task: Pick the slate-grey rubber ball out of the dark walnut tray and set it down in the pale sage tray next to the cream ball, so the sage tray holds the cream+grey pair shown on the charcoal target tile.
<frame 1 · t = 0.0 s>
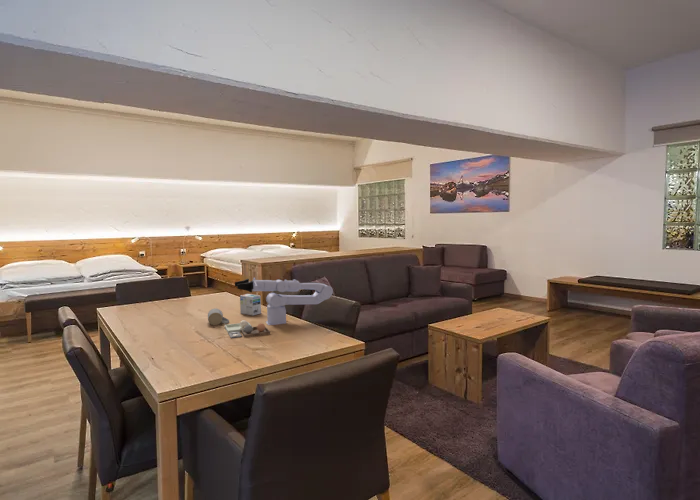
hand: (236, 285, 207), 22 cm above the table, tool horizontal, fingers open, 7 cm apart
target tile: (235, 336, 194), on the table
ceramic mug: (218, 324, 216), on the table
light bulb box: (250, 313, 239), on the table
grey ball: (248, 333, 197), resting on walnut tray
cream ball: (243, 328, 206), resting on sage tray
terracotta ball: (261, 331, 200), resting on walnut tray
walnut tray: (254, 333, 198), on the table
sage tray: (238, 329, 205), on the table
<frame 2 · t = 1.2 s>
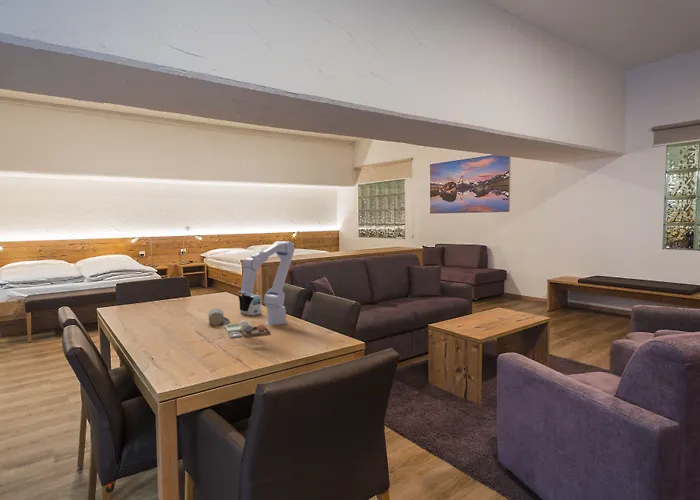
hand: (243, 310, 197), 11 cm above the table, tool tilted 15°, fingers open, 7 cm apart
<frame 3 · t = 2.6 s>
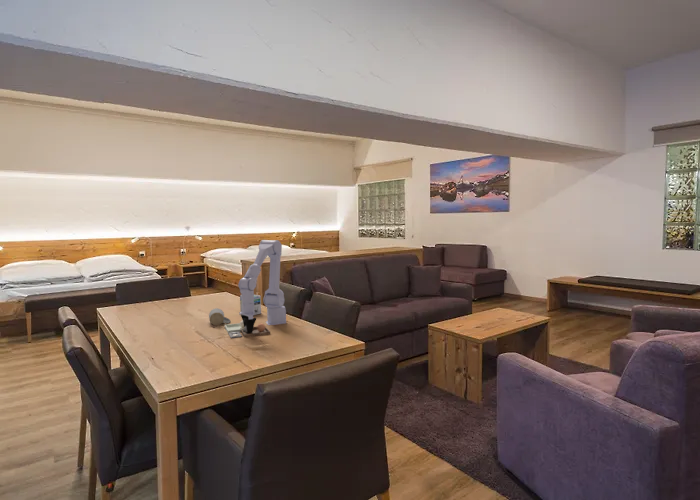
hand: (248, 330, 197), 2 cm above the table, tool pointing down, fingers open, 7 cm apart
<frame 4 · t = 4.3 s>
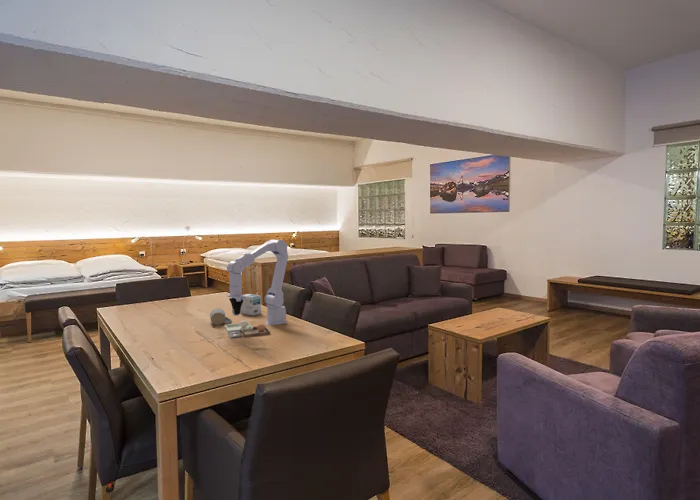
hand: (236, 313, 202), 9 cm above the table, tool pointing down, fingers closed on grey ball, 4 cm apart
grey ball: (236, 315, 202), point 8 cm above the table, touching gripper
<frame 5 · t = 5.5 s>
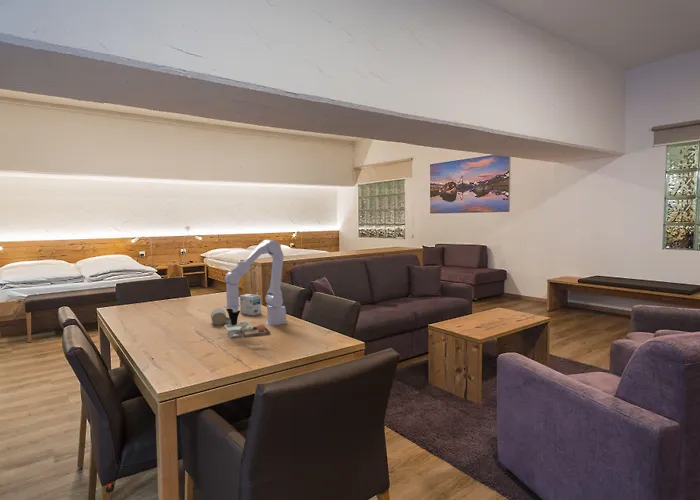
hand: (233, 323, 204), 3 cm above the table, tool pointing down, fingers closed on grey ball, 4 cm apart
grey ball: (233, 325, 204), point 2 cm above the table, touching gripper
when the fingers open (3 cm above the table, at t = 6.0 s): grey ball drops 1 cm, resting on sage tray.
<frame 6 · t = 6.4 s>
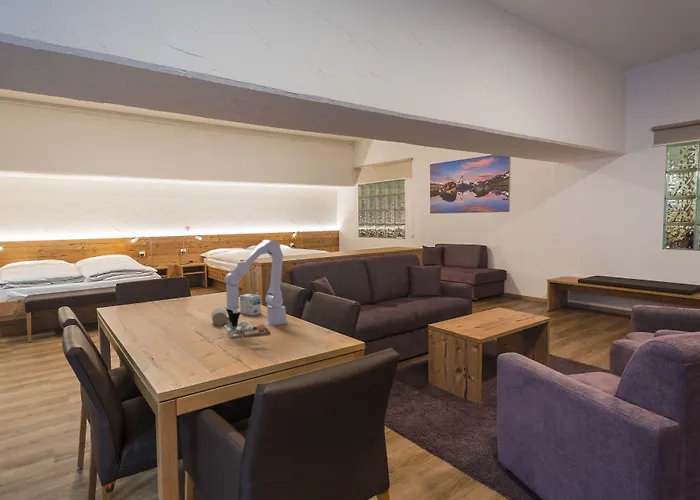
hand: (233, 324, 204), 3 cm above the table, tool pointing down, fingers open, 7 cm apart
grey ball: (233, 329, 204), resting on sage tray
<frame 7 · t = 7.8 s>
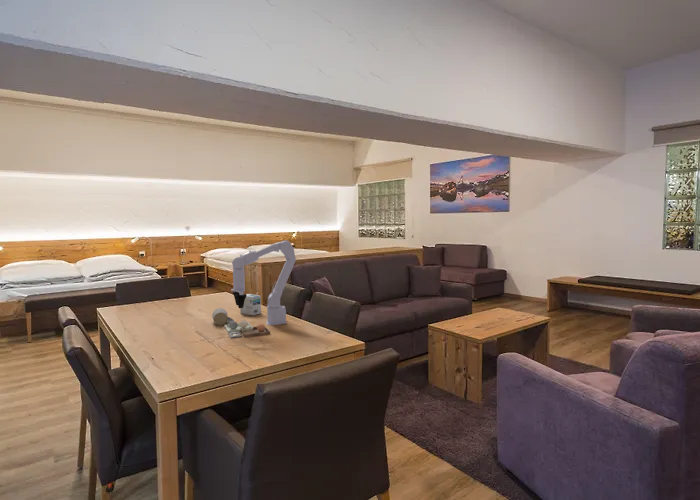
hand: (239, 306, 212), 10 cm above the table, tool pointing down, fingers open, 7 cm apart
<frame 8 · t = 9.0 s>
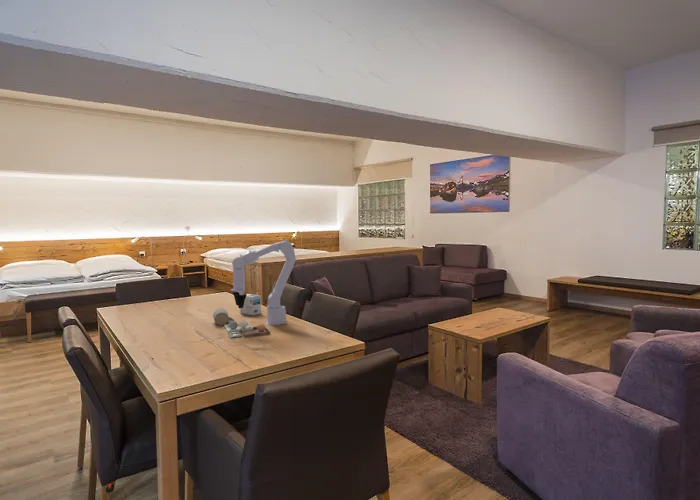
hand: (239, 306, 212), 10 cm above the table, tool pointing down, fingers open, 7 cm apart
at the end: grey ball inside the target area on the sage tray (2.6 cm from its centre), point 0.5 cm above the sage tray's base; cream ball inside the target area on the sage tray (2.5 cm from its centre), point 0.5 cm above the sage tray's base; the gripper is holding nothing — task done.
